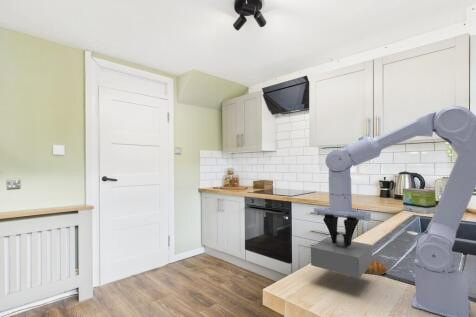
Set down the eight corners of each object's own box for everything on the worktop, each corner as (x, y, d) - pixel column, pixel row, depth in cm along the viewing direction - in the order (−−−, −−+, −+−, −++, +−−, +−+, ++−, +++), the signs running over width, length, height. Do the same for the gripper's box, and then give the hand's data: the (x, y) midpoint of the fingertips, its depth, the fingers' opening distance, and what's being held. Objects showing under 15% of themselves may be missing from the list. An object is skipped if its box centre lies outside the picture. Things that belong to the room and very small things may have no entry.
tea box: (402, 210, 169) (401, 188, 170) (412, 209, 173) (411, 187, 174) (426, 214, 155) (425, 190, 156) (436, 212, 159) (435, 189, 160)
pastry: (387, 270, 76) (387, 257, 76) (385, 279, 71) (384, 265, 71) (354, 263, 82) (353, 252, 82) (349, 271, 76) (349, 258, 76)
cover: (372, 262, 69) (371, 232, 69) (359, 278, 60) (358, 242, 60) (328, 252, 77) (327, 225, 77) (311, 265, 68) (310, 234, 68)
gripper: (372, 194, 67) (374, 245, 67) (320, 191, 77) (321, 236, 76) (365, 197, 62) (367, 252, 62) (310, 193, 71) (311, 241, 71)
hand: (341, 243), depth 69 cm, fingers closed on cover, 3 cm apart
